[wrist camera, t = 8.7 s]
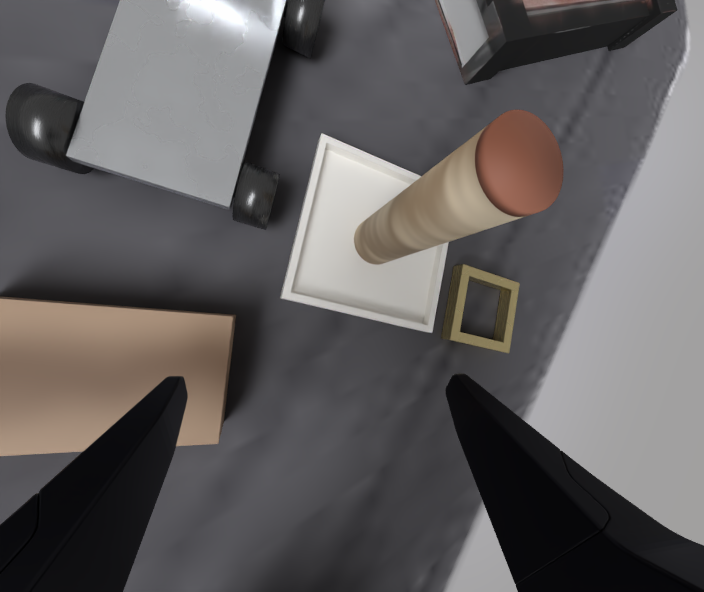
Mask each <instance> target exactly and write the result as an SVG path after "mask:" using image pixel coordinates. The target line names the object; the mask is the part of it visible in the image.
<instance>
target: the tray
mask: <svg viewBox="0 0 704 592" xmlns="http://www.w3.org/2000/svg"><path fill="white" fill-rule="evenodd" d="M420 177H421V176H419V175H417V174H415V173H412V172H410V171H408V170H405V169H403V168H401V167H398V166H396V165H394V164H391V163H389V162H387V161H384V160H382V159H380V158H378V157H375V156H373V155H371V154H368V153H366V152H364V151H361V150H359V149H357V148H354V147H352V146H350V145H348V144H345V143H343V142H341V141H338V140H336V139H334V138H331V137H329V136H327V135H324V134H321V136H320V139H319V141H318V144H317V148H316V152H315V156H314V161H313V165H312V169H311V173H310V177H309V181H308V185H307V189H306V193H305V197H304V201H303V205H302V210H301V214H300V218H299V222H298V226H297V230H296V234H295V238H294V242H293V246H292V250H291V254H290V259H289V263H288V267H287V271H286V275H285V279H284V283H283V287H282V291H281V295H280V299H285V300H289V301H293V302H298V303H302V304H306V305H311V306H315V307H319V308H324V309H328V310H332V311H336V312H341V313H345V314H349V315H354V316H358V317H362V318H367V319H371V320H375V321H380V322H384V323H388V324H392V325H397V326H401V327H405V328H410V329H414V330H418V331H423V332H429V333H432V331H433V326H434V320H435V315H436V309H437V304H438V298H439V293H440V287H441V282H442V276H443V271H444V265H445V260H446V254H447V249H448V243H449V242H447V243H444V244H441V245H438V246H435V247H432V248H429V249H426V250H422V251H419V252H416V253H413V254H410V255H407V256H404V257H401V258H398V259H395V260H392V261H389V262H386V263H383V264H378V265H375V264H370V263H368V262H366V261H365V260H363V259H362V258H361V257H360V256H359V254H358V253H357V251H356V249H355V245H354V235H355V231H356V229H357V227H358V226H359V225H360V224H361V223H362V222H363V221H365V220H366V219H367V218H368V217H370V216H371V215H372V214H374V213H375V212H376V211H377V210H379V209H380V208H381V207H383V206H384V205H385V204H387V203H388V202H389V201H390V200H392V199H393V198H394V197H396V196H397V195H398V194H400V193H401V192H402V191H403V190H405V189H406V188H407V187H409V186H410V185H411V184H412V183H414V182H415V181H416V180H418V179H419V178H420Z"/></svg>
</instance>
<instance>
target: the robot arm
mask: <svg viewBox="0 0 704 592" xmlns="http://www.w3.org/2000/svg"><path fill="white" fill-rule="evenodd" d="M446 397H447V400H448V404H449V407H450V411H451V414H452V418H453V422H454V425H455V429H456V432H457V435H458V438H459V441H460V443H461V446H462V448H463V451H464V454H465V456H466V459H467V461H468V464H469V466H470V469H471V472H472V474H473V477H474V479H475V482H476V484H477V487H478V490H479V492H480V495H481V497H482V500H483V502H484V505H485V508H486V510H487V513H488V515H489V518H490V520H491V523H492V525H493V528H494V531H495V533H496V535H497V538H498V541H499V544H500V546H501V549H502V551H503V554H504V556H505V559H506V561H507V564H508V567H509V569H510V572H511V574H512V577H513V580H514V582H515V584H516V588H517V590H518V592H704V546H703V545H701V544H698V543H696V542H693V541H691V540H688V539H686V538H684V537H682V536H680V535H678V534H676V533H675V532H673V531H671V530H669V529H668V528H666V527H664V526H663V525H662V524H660V523H659V522H657V521H656V520H654V519H653V518H652V517H650V516H649V515H647V514H646V513H645V512H643V511H642V510H640V509H639V508H638V507H636V506H635V505H633V504H632V503H631V502H629V501H628V500H626V499H625V498H624V497H622V496H621V495H619V494H618V493H617V492H615V491H614V490H612V489H611V488H610V487H608V486H607V485H606V484H604V483H603V482H601V481H600V480H599V479H597V478H596V477H595V476H593V475H592V474H591V473H589V472H588V471H587V470H586V469H584V468H583V467H582V466H580V465H579V464H578V463H576V462H575V461H574V460H573V459H571V458H570V457H569V456H568V455H566V454H565V453H564V452H563V451H560V449H559V448H558V447H556V446H555V445H554V444H552V443H551V442H550V441H549V440H547V439H546V438H545V437H544V436H542V435H541V434H540V433H539V432H537V431H536V430H535V429H534V428H532V427H531V426H530V425H529V424H527V423H526V422H525V421H524V420H522V419H521V418H520V417H519V416H517V415H516V414H515V413H514V412H512V411H511V410H510V409H509V408H507V407H506V406H505V405H504V404H502V403H501V402H500V401H499V400H497V399H496V398H495V397H494V396H492V395H491V394H490V393H489V392H487V391H486V390H485V389H484V388H482V387H481V386H480V385H479V384H477V383H476V382H475V381H474V380H472V379H471V378H470V377H469V376H467V375H466V374H454V375H453V376H452V377H451V379H450V381H449V383H448V385H447V387H446ZM187 399H188V393H187V388H186V384H185V379H184V377H183V376H168V377H166V378H165V379H164V380H163V381H162V382H160V383H159V384H158V385H157V386H156V387H155V388H154V389H153V390H152V391H150V392H149V393H148V394H147V395H146V396H145V397H144V398H143V399H141V400H140V401H139V402H138V403H137V404H136V405H135V406H134V407H132V408H131V409H130V410H129V411H128V412H127V413H126V414H125V415H123V416H122V417H121V418H120V419H119V420H118V421H117V422H116V423H115V424H113V425H112V426H111V427H110V428H109V429H108V430H107V431H106V432H104V433H103V434H102V435H101V436H100V437H99V438H98V439H97V440H95V441H94V442H93V443H92V444H91V445H90V446H89V447H88V448H86V449H85V450H84V451H83V452H82V453H81V454H80V455H79V456H78V457H76V458H75V459H74V460H73V461H72V462H71V463H70V464H69V465H67V466H66V467H65V468H64V469H63V470H62V471H61V472H60V473H58V474H57V475H56V476H55V477H54V478H53V479H52V480H51V481H49V482H48V483H47V484H46V485H45V486H44V487H43V488H42V489H41V490H40V491H39V493H37V494H35V495H34V496H32V497H31V498H30V499H29V500H28V501H27V502H26V503H25V504H24V505H22V506H21V507H20V508H19V509H18V510H17V511H16V512H14V513H13V514H12V515H11V516H10V517H9V518H8V519H6V520H5V521H4V522H3V523H2V524H1V525H0V592H123V590H124V587H125V585H126V582H127V579H128V577H129V574H130V571H131V568H132V566H133V563H134V560H135V558H136V555H137V552H138V550H139V547H140V544H141V541H142V539H143V536H144V533H145V531H146V528H147V525H148V523H149V520H150V517H151V514H152V512H153V509H154V506H155V504H156V501H157V498H158V496H159V493H160V490H161V487H162V485H163V482H164V479H165V477H166V474H167V471H168V469H169V466H170V463H171V460H172V457H173V454H174V451H175V448H176V444H177V440H178V436H179V432H180V428H181V424H182V420H183V416H184V412H185V408H186V404H187Z"/></svg>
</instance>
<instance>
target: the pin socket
mask: <svg viewBox="0 0 704 592" xmlns="http://www.w3.org/2000/svg"><path fill="white" fill-rule="evenodd" d="M469 280H470V281H473V282H476V283H479V284H482V285H486V286H489V287H492V288H495V289H498V290H501V292H500V298H499V305H498V311H497V317H496V324H495V330H494V336H493V340H491V339H487V338H483V337H478V336H474V335H470V334H466V333H462V332H460V327H461V321H462V316H463V310H464V304H465V298H466V292H467V286H468V281H469ZM519 284H520V283H518V282H515V281H512V280H509V279H506V278H503V277H500V276H497V275H494V274H491V273H488V272H485V271H482V270H479V269H476V268H473V267H470V266H467V265H464V264H462V265H457V266H454V268H453V273H452V279H451V285H450V290H449V296H448V301H447V307H446V313H445V318H444V324H443V329H442V335H441V338H442V339H447V340H451V341H455V342H460V343H464V344H469V345H473V346H477V347H482V348H486V349H490V350H495V351H499V352H505V353H509V350H510V344H511V337H512V330H513V324H514V317H515V311H516V304H517V297H518V291H519Z"/></svg>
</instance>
